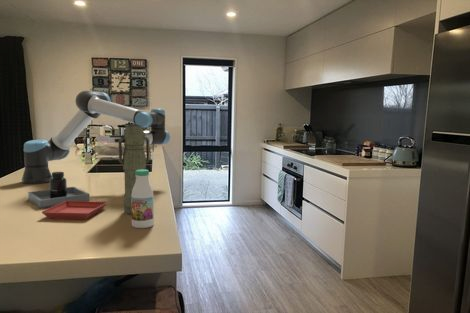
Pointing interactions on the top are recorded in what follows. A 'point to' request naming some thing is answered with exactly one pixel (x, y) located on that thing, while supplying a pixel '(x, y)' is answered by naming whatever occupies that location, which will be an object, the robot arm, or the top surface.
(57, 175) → the supplement bottle
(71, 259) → the top surface
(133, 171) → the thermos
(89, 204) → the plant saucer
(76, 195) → the tray
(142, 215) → the milk bottle
